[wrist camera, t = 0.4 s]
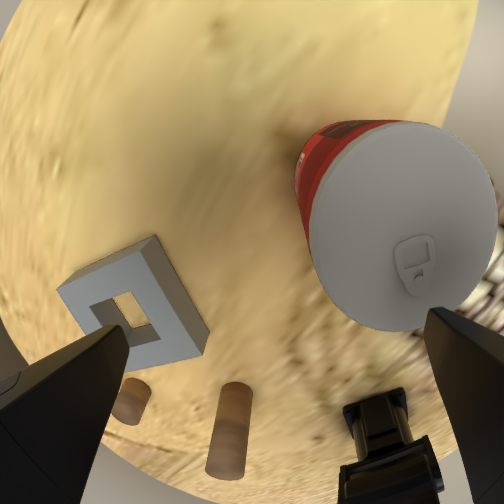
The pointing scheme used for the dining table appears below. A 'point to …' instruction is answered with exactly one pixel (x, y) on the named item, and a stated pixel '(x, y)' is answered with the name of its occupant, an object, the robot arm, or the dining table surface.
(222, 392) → the long pin
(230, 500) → the dining table surface
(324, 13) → the dining table surface
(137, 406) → the short pin
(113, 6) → the dining table surface
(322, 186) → the canned food
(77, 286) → the socket block
